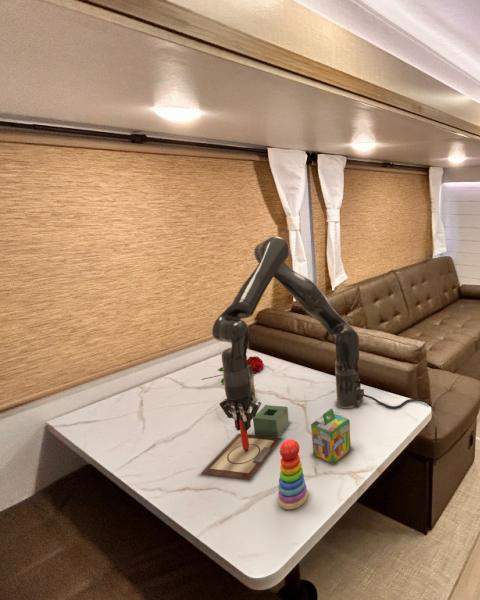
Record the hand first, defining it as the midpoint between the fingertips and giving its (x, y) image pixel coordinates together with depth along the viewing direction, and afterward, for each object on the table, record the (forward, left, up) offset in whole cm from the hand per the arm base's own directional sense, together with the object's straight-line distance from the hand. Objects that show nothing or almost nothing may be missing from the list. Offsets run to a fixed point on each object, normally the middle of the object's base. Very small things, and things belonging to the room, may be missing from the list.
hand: (243, 429), depth 121 cm
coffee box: (+18, -28, -9) cm, 34 cm away
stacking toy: (-24, +16, -9) cm, 30 cm away
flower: (+35, -50, -9) cm, 61 cm away
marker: (0, 0, -8) cm, 8 cm away
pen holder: (-2, -14, -9) cm, 16 cm away
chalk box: (-28, -5, -9) cm, 30 cm away
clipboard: (0, +1, -9) cm, 9 cm away
